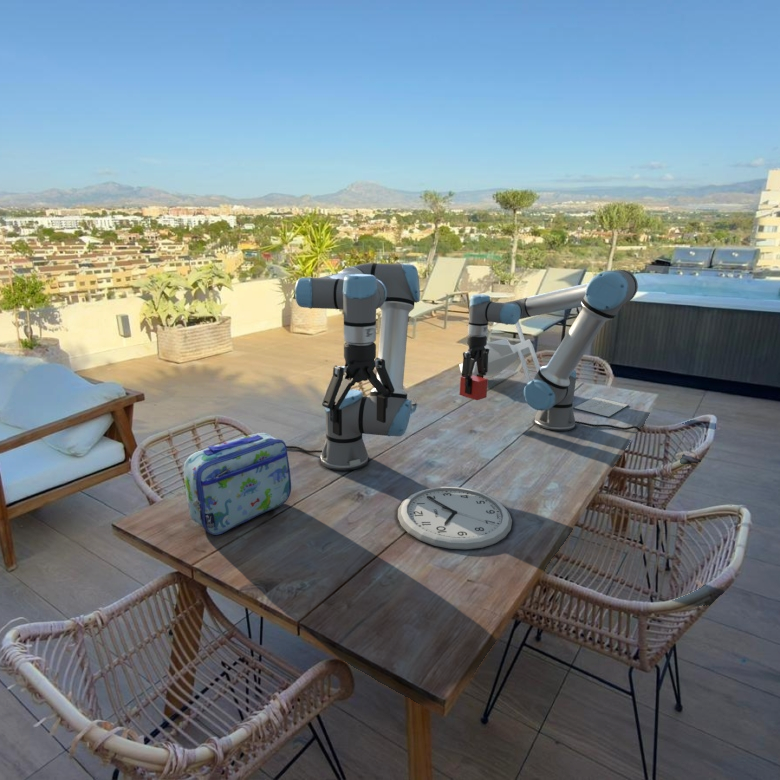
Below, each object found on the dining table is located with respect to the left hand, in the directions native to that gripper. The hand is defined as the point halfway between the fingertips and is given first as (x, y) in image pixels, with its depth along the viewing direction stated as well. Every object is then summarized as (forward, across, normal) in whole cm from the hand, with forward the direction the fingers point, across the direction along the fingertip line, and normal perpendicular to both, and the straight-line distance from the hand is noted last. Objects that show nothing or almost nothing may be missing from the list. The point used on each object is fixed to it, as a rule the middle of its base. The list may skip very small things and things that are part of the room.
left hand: (359, 427), depth 128 cm
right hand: (+16, +84, +33) cm, 92 cm away
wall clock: (+26, +20, -14) cm, 36 cm away
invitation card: (+26, +137, +5) cm, 139 cm away
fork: (+26, +72, +57) cm, 95 cm away
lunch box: (+26, -22, +21) cm, 40 cm away
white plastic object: (+26, +128, +53) cm, 141 cm away
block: (+18, +84, +33) cm, 92 cm away
